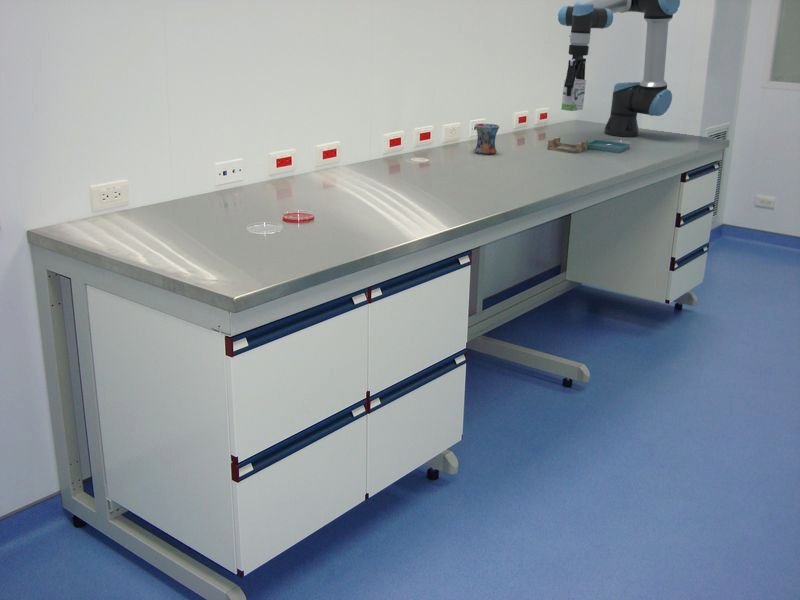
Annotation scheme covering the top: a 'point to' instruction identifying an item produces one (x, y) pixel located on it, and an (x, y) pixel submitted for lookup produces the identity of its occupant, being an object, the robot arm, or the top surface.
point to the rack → (556, 142)
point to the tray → (607, 146)
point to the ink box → (575, 96)
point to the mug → (486, 138)
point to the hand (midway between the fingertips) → (572, 103)
